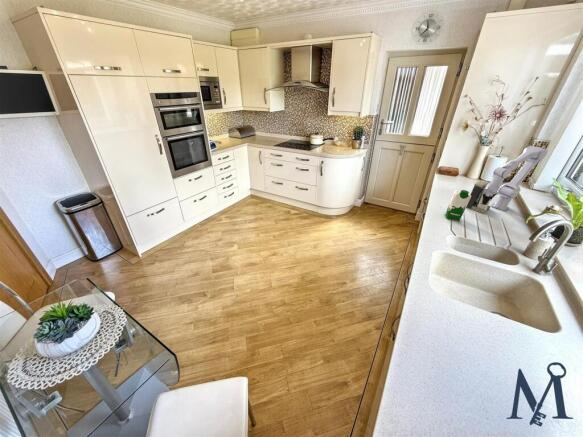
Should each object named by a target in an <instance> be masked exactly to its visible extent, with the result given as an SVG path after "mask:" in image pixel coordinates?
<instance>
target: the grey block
mask: <svg viewBox="0 0 583 437" xmlns="http://www.w3.org/2000/svg"><path fill="white" fill-rule="evenodd" d="M488 184H490V181H487V180H484V179H481V180H479V181H477V182H476V183H474V185H473V187H472V190H471V192H470V195H471V198H470V200H469V202H468V204H467V206H466V209H470V210H473V211H476V212H478V213H482V214H485V212H486V211H487V210H490V209H491V208H492V205H488V207H487V209H486V210H484V209H481V208H478V207H476V205H477V202H478V200H479V198H480V195H481V193H482V191H483V189H487V188H486V187H487V186H488Z"/></svg>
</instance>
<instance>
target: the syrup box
mask: <svg viewBox="0 0 583 437" xmlns="http://www.w3.org/2000/svg"><path fill="white" fill-rule="evenodd" d="M487 189H488V188H485V189H483V191H482V193H481V195H480V198H479V200H478V202H477V205H476V207H478V208H481V209H484V210H486V211H487V210H488V209H487V207H488V206H490V202H491V201H492V200H491V199H490V200H491V201H490V200H489V201H488V203H487V204H486V205H484V204H482V201H483V194H486V192H489V191H487ZM490 196H493V194H491V195H490Z"/></svg>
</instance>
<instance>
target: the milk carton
mask: <svg viewBox="0 0 583 437" xmlns="http://www.w3.org/2000/svg"><path fill="white" fill-rule="evenodd" d="M470 194H471V192H470V191H469V190H466V189H461V190H457V189H455V190H454V193H453V194H452V197H451V199H450V201H449V204H448V206H447V209H446V212H445V217H446V220H451V221H454V222H455V221H456V222H460V220H461V219H462V216H463V215H464V213H465V210H466V209H467V208H466V206H467V204H468V202H469V200H470V198H471V195H470Z"/></svg>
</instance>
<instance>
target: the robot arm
mask: <svg viewBox="0 0 583 437" xmlns="http://www.w3.org/2000/svg"><path fill="white" fill-rule="evenodd" d="M547 155H548V149H547V148H543V147H539V146H534V145H528V146H526V147H525V148H524V149H523V151H522V153H521V154H520V155H519V156H517V157H516V158H515V159H512V160H511V159H510V160H509V161H508V162H506V163H505V164H503V165H502V166H498V167H496V168H495V169H494V170H493V171H492V172H493V174H492V179H491V181H490V182H489V185H488V187H487V188H486V189H487V191H489V192H486V194H483V201H482V204H484V205H486V204H487V203H488V201H489V200H490V199H491V200H490V202H491V201H492V200H493V199H494V198H495V196H497V195H498V197H497V198H496V200H495V202H494V204H493V205H491V208H494V209H498V210H501V211H504V212H505V211H506V210H508V209H509V204H510V203H511V201H512V199H515V198H516V197H518V196H519V193H520V192H521V188H520V184H521V183H522V182H523V181H524V179H526V177H527V176H528V175H529V174H530V172H532V170H533V169H534V167H536V165H537V164H538V163H541V162H542V161H543V160H544V159H545V157H546V156H547ZM525 161H526V162H525ZM523 162H525V163H524V164H523V166H522V167H521V168H520V169H519V170H518V172H517V173H516V174H515V175H514V177H512V179H511V180H510V182H505V183H504V184H503V182H504V180H505V179H506V178H508V176H509V175H510V174H511V173H512V172H513V171H514V170H516V169H517V168H518V167H520V166H519V165H520V164H522V163H523ZM502 184H503V185H502ZM491 194H493V196H490V195H491Z"/></svg>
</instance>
